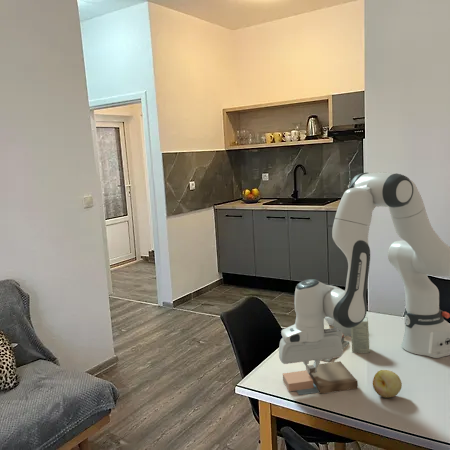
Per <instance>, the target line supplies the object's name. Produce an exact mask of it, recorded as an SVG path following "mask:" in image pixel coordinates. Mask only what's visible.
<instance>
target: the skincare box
mask: <svg viewBox="0 0 450 450" xmlns="http://www.w3.org/2000/svg"><path fill="white" fill-rule="evenodd" d="M350 337H351V352H352V353H357V352H358V353H362V354H370V338H369V337H370V334H369V318H368V317H366V316H365V318H364V320H363V321H362V322H361V323H360V324H359V325H357V326H355V327H352V328H351V336H350Z"/></svg>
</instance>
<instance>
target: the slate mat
mask: <svg viewBox="0 0 450 450" xmlns="http://www.w3.org/2000/svg"><path fill="white" fill-rule="evenodd" d="M313 385H314V388H310V389H303V390H296V393H297V394H298V396H303V395H309V394H316V393H320V392H319V390H318V389H317V387H316V386H315V384H314V383H313Z"/></svg>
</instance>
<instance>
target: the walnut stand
mask: <svg viewBox="0 0 450 450" xmlns="http://www.w3.org/2000/svg"><path fill="white" fill-rule="evenodd" d="M308 366H313V364H310V365H309V364H308ZM305 370H307V369H306V368H305ZM309 375H310V376H311V378H312V379H313V383H314V384H315V386H316V387H317V389H318V390H319V392H318V393H319V394H321V395H322V394H329V393H336V392H344V391H351V390H356V389H357V390H358V388H359V386H358V385H359V382H358V380H357V379H356V377H354V375H353V374H352V373H351V371H349V369H348V368H347V367H346V366H345V365H344V364H343V362H341V360H340V361H333V362H331V361H330V362H326V363H319V365H318V367H317V372H316V373H309Z"/></svg>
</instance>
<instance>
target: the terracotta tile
mask: <svg viewBox="0 0 450 450" xmlns="http://www.w3.org/2000/svg"><path fill="white" fill-rule="evenodd" d="M282 381H283V383H284V385H285V387H286V388H287V391H288V392H295V391H296V390H303V389H310V388H314V385H313V379H312V378H311V376H310V375H309V373H307V370H306V369H305V370H299V371H290V372H284V373H282ZM296 392H297V391H296Z"/></svg>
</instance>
